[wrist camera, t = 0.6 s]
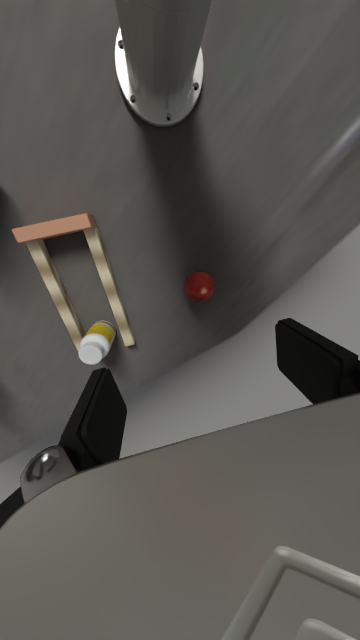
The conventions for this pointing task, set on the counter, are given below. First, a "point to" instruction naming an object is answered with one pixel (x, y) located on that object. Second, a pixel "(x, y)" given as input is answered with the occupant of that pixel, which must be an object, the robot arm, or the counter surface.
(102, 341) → the supplement bottle
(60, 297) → the wooden u-shaped frame
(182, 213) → the counter surface
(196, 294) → the onion
